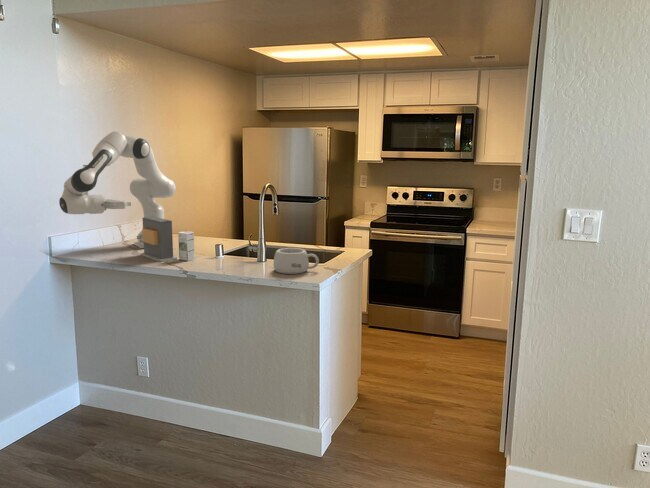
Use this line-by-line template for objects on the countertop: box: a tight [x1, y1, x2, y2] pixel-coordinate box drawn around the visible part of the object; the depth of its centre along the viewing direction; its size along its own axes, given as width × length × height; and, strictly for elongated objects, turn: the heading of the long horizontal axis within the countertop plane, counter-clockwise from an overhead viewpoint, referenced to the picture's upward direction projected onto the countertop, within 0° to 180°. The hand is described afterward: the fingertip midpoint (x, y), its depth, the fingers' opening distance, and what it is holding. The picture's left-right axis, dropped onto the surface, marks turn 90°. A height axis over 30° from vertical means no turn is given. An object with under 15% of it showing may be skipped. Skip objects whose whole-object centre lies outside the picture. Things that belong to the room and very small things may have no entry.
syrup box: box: [177, 230, 196, 262], centre depth 268 cm, size 6×6×14 cm
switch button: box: [141, 227, 158, 245], centre depth 270 cm, size 12×3×7 cm, turn 44°
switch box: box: [140, 217, 178, 263], centre depth 273 cm, size 22×9×20 cm, turn 44°
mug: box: [273, 247, 320, 275], centre depth 248 cm, size 21×17×10 cm
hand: (125, 203), depth 257 cm, fingers open, 8 cm apart
